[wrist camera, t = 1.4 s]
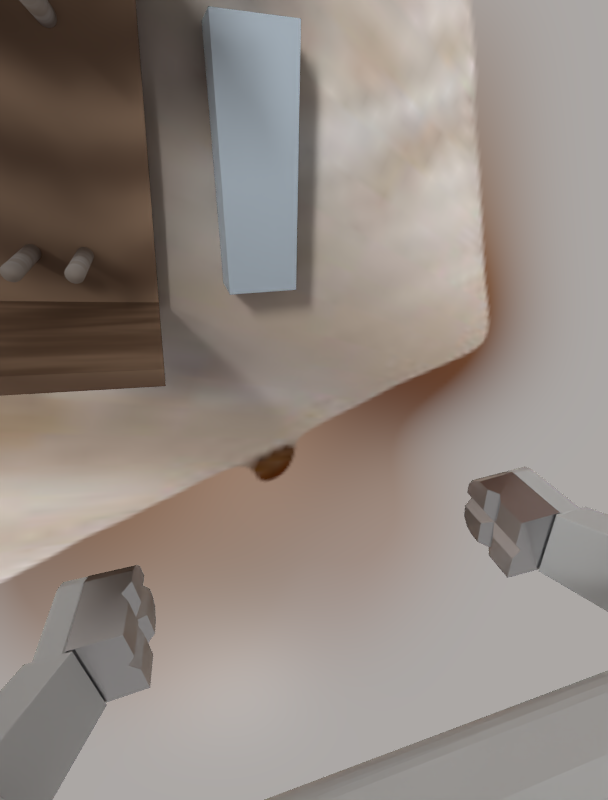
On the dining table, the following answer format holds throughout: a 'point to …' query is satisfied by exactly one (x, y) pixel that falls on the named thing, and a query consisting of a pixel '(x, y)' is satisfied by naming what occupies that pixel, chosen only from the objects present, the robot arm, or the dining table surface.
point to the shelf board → (254, 144)
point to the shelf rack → (75, 201)
